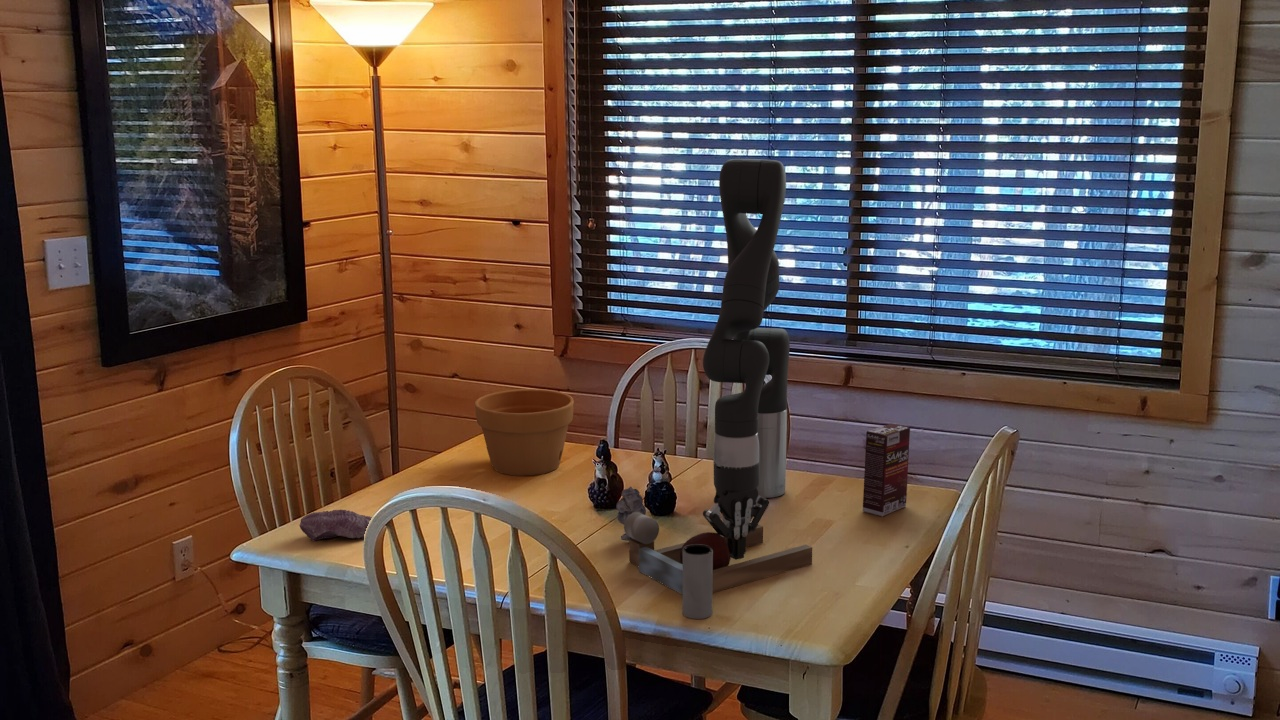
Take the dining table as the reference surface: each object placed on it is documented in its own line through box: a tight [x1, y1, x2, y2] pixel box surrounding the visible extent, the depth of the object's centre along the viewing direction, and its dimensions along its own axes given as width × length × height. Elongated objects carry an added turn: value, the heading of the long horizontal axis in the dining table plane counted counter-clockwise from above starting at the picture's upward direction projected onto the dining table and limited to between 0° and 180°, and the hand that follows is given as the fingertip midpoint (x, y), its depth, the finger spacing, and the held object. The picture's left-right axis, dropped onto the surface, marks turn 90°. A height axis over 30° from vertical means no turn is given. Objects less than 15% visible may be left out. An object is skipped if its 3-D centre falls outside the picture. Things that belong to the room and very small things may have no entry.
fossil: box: [299, 509, 373, 542], centre depth 214 cm, size 8×14×5 cm, turn 111°
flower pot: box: [474, 388, 575, 477], centre depth 256 cm, size 21×21×15 cm
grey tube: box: [681, 544, 713, 620], centre depth 180 cm, size 4×4×10 cm
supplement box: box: [862, 423, 911, 517], centre depth 227 cm, size 9×5×16 cm, turn 136°
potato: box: [680, 531, 731, 570], centre depth 196 cm, size 7×8×7 cm
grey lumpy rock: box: [615, 486, 647, 542], centre depth 211 cm, size 5×5×10 cm
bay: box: [623, 512, 813, 595], centre depth 200 cm, size 19×26×8 cm
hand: (736, 557), depth 200 cm, fingers closed
